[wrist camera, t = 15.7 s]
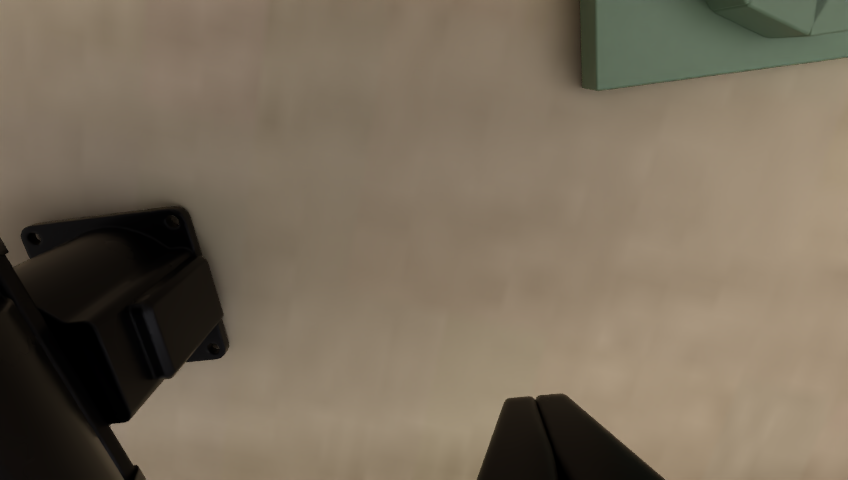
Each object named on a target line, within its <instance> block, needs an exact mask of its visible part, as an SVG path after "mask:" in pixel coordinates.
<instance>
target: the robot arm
mask: <svg viewBox="0 0 848 480" xmlns="http://www.w3.org/2000/svg"><path fill="white" fill-rule="evenodd" d="M171 215H173V216H175V217H177V218H178V220H179V225H176V224H175V223H173V221H172V220H171ZM35 233H36V234H38V235H39V237H40V238H41V241H40V240H39V239H38V238H37V237H36V234H35ZM21 239H22V242H23V244H24V246H25V249H26V251H27V253H28V256H29V258H30V259H29V260H27V261H25V262H23V263H21V264H19V265H17V266H15V267H12V265H11V264H10V262H9V260H8V259H7V257H6V255H5V254H6V253H8V252H9V251H8V250H7V248H6V246H5V245H4V243H3V241H2V240H1V238H0V480H146V478H145V477H144V475H143V473H142V472H141V470H140V468H139V467H138V466H137V465H134V466H133V464H132V463H131V461H130V459H129V458H128V456H127V454H126V453H125V451H124V449H123V448H122V446H121V445H120V443H119V441H118V440H117V438H116V436H115V435H114V433H113V431H112V430H111V428H110V425H111V424H113V423H124V422H127V421H129V420H130V419H131V418H132V417H133V415H134V414H135V413H136V412H137V411H138V409H139V408H140V407H141V406H142V405H143V404H144V402H145V401H146V400H147V399H148V398H149V397H150V395H151V394H152V393H153V392H154V391H155V390H156V388H157V387H158V386H159V385H160V384H161V383H162V381H163V380H164V379H170V378H172V377H173V376H174V375H175V374H176V373H177V371H178V370H179V369H180V368H181V367H182V366H183V364H184V363H185V362H193V361H203V360H213V359H219V358H221V357H222V356H223V355H224V354H225V353H226V351H227V350H228V348H229V341H228V338H227V335H226V332H225V328H224V325H223V322H222V319H221V318H222V317H223V311H222V308H221V304H220V301H219V298H218V294H217V291H216V288H215V285H214V281H213V278H212V275H211V271H210V268H209V265H208V262H207V260H206V259H205V258H204V257H203V256H202V253H201V250H200V247H199V244H198V240H197V237H196V234H195V231H194V227H193V224H192V221H191V217H190V215H189V213H188V212H187V211H186V210H185V209H184V208H181V207H179V206H170V207H162V208H154V209H146V210H138V211H130V212H122V213H114V214H106V215H98V216H90V217H82V218H74V219H66V220H58V221H50V222H42V223H36V224H33V225H31V226H28V227H26V228H24V229H23V230H22V232H21ZM211 343H213V344H216V345H218V347H219V349H216V348H214V347H213V346H212V344H211ZM477 480H665V479H664V478H663V477H662V476H660V475H659V474H658V473H657V472H656V471H654V470H653V469H652V468H651V467H650V466H649V465H647V464H646V463H645V462H644V461H643V460H642V459H640V458H639V457H638V456H637V455H636V454H635V453H633V452H632V451H631V450H630V449H629V448H628V447H626V446H625V445H624V444H623V443H622V442H620V441H619V440H618V439H617V438H616V437H615V436H613V435H612V434H611V433H610V432H609V431H608V430H606V429H605V428H604V427H603V426H602V425H601V424H599V423H598V422H597V421H596V420H595V419H594V418H592V417H591V416H590V415H589V414H588V413H587V412H585V411H584V410H583V409H582V408H581V407H579V406H578V405H577V404H576V403H575V402H574V401H572V400H571V399H570V398H569V397H568V396H566V395H564V394H549V395H540V396H538V397H536V400H535V399H534V398H533V397H530V396H528V397H517V398H508V399H506V400H505V402H504V404H503V407H502V410H501V413H500V416H499V418H498V421H497V424H496V427H495V430H494V433H493V435H492V438H491V441H490V444H489V447H488V450H487V452H486V455H485V458H484V461H483V464H482V466H481V469H480V472H479V475H478V478H477Z"/></svg>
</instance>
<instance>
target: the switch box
mask: <svg viewBox="0 0 848 480" xmlns="http://www.w3.org/2000/svg"><path fill="white" fill-rule="evenodd" d="M580 23H581V66H582V87H583V88H585V89H590V90H595V91H602V90H609V89H617V88H624V87H632V86H639V85H647V84H654V83H662V82H669V81H677V80H684V79H691V78H699V77H706V76H714V75H721V74H729V73H736V72H744V71H751V70H759V69H766V68H774V67H781V66H788V65H796V64H803V63H811V62H818V61H826V60H833V59H841V58H848V0H580Z"/></svg>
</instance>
